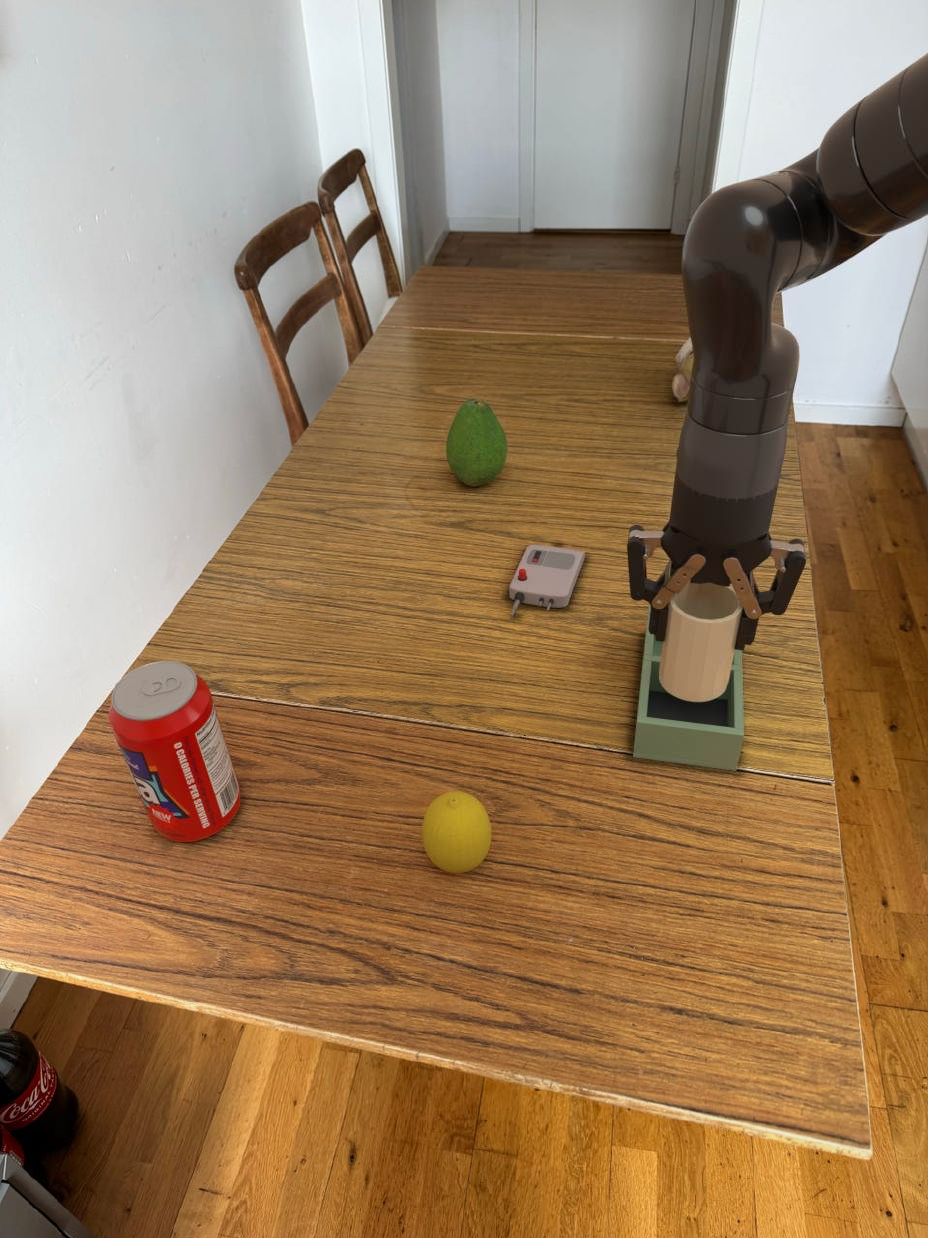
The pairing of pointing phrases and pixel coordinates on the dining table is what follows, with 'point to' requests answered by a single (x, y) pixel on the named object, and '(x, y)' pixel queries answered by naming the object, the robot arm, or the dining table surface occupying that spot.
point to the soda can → (175, 750)
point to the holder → (688, 718)
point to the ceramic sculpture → (683, 372)
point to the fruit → (476, 444)
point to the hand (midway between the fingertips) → (699, 639)
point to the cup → (700, 641)
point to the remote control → (545, 576)
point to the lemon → (456, 832)
